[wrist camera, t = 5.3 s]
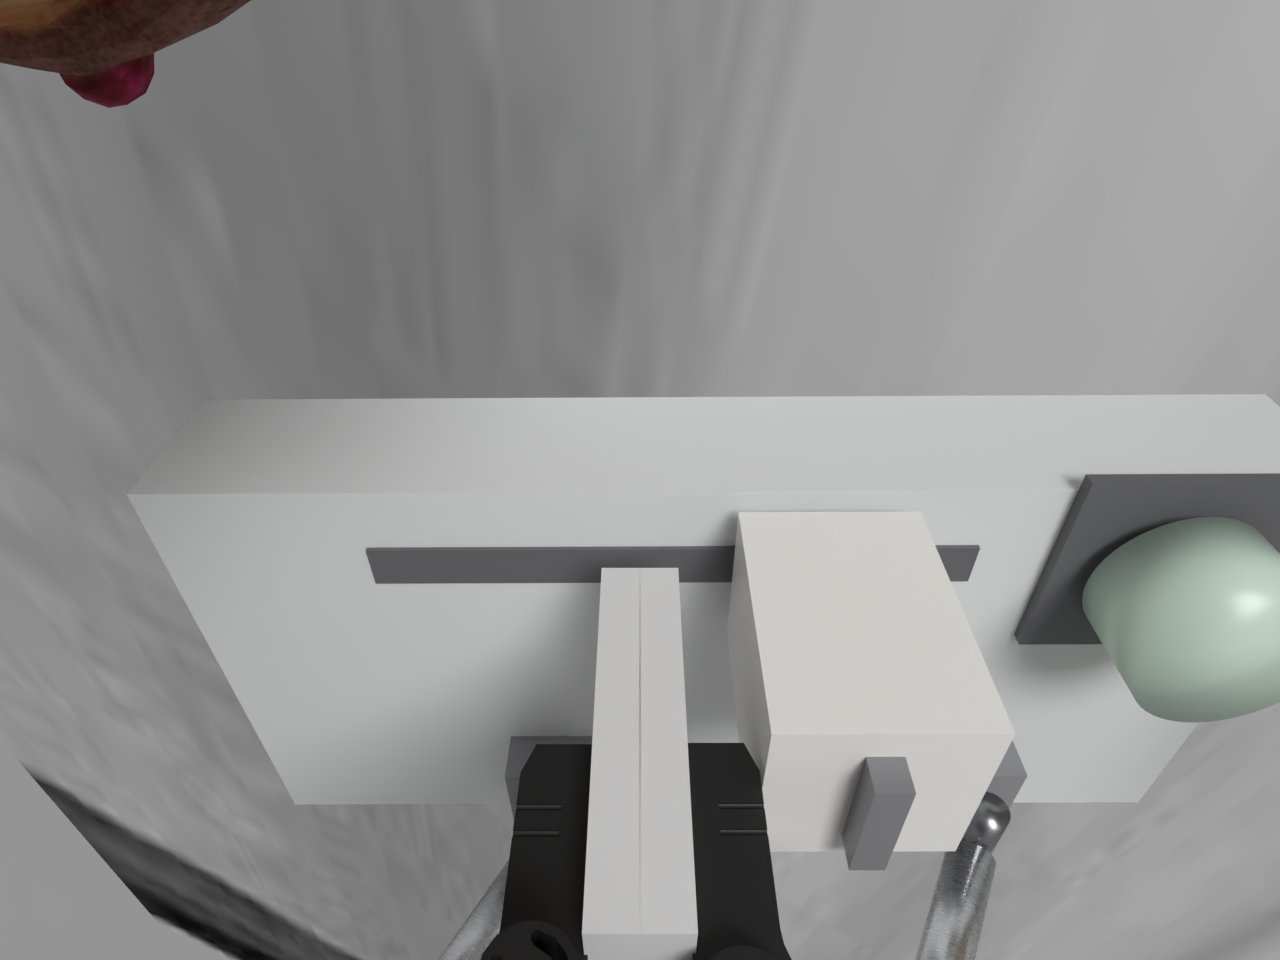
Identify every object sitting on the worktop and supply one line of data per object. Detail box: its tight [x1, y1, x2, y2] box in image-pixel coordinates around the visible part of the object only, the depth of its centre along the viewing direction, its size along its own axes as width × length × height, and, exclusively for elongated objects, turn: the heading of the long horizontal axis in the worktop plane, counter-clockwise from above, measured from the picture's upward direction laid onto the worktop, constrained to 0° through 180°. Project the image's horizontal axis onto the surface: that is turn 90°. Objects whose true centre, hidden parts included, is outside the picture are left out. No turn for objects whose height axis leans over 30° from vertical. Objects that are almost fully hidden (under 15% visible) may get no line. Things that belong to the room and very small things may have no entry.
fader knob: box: [727, 511, 1015, 870], centre depth 14 cm, size 4×4×6 cm
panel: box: [127, 394, 1280, 819], centre depth 20 cm, size 12×25×5 cm, turn 90°
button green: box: [1082, 517, 1280, 723], centre depth 15 cm, size 4×4×2 cm
